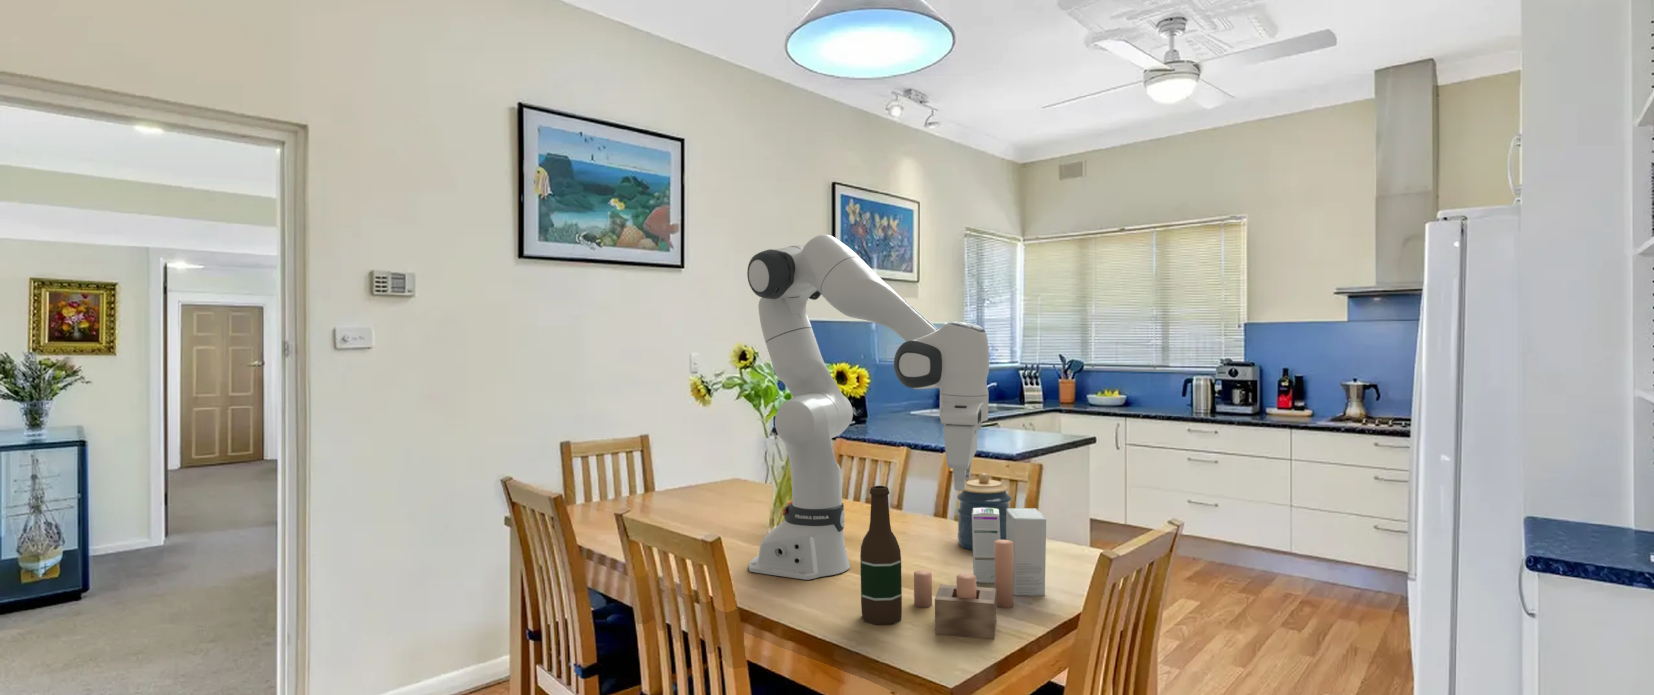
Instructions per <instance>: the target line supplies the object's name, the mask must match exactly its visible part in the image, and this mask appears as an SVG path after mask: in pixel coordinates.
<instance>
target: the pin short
mask: <svg viewBox="0 0 1654 695" xmlns="http://www.w3.org/2000/svg"><path fill="white" fill-rule="evenodd" d="M932 577H933V574H932V572H931V571H929V570H924V569H923V570H922V569H921V570H916V571H915V570H914V572H913V602H914V603H913V604H914V606H915V607H919V608H929V607H932V606H933V582H932V581H933V578H932Z"/></svg>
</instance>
